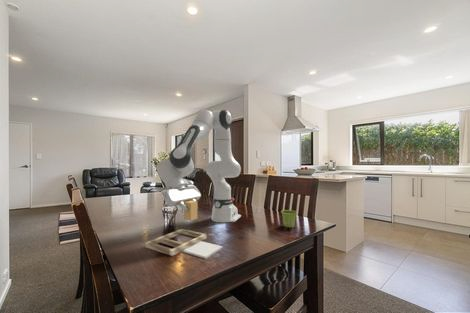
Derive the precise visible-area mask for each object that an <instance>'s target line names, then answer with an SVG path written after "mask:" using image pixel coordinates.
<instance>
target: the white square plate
mask: <svg viewBox="0 0 470 313" xmlns="http://www.w3.org/2000/svg"><path fill="white" fill-rule="evenodd" d="M222 249H223V246H222V245H218V244H214V243H210V242H206V241H204V240H202V241H200V242H198V243H196V244H194V245H192V246H190V247H189V248H187V249H185V250H183V251H182V252H183V253H185V254H189V255H191V256H195V257H197V258H198V257H199V258H202V259H205V260H207V259H208V258H209V257H211V256H213V255H214V254H216V253H217V252H218V251H220V250H222Z"/></svg>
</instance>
